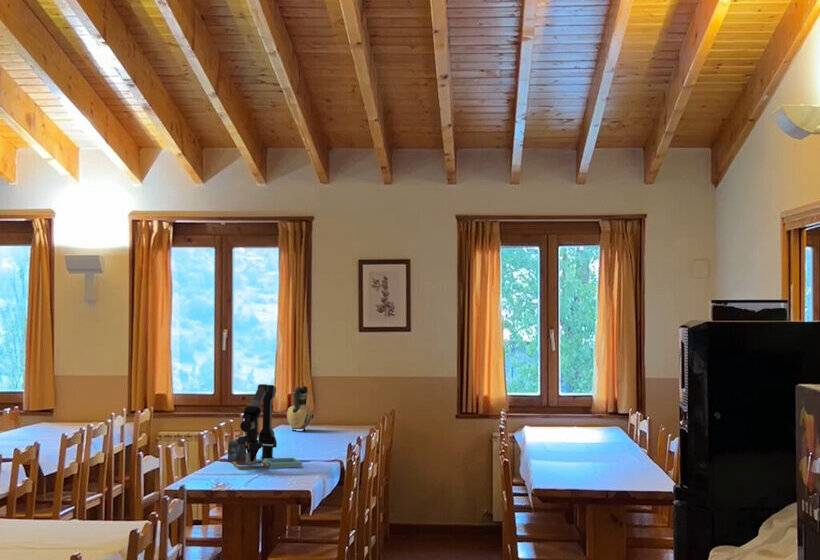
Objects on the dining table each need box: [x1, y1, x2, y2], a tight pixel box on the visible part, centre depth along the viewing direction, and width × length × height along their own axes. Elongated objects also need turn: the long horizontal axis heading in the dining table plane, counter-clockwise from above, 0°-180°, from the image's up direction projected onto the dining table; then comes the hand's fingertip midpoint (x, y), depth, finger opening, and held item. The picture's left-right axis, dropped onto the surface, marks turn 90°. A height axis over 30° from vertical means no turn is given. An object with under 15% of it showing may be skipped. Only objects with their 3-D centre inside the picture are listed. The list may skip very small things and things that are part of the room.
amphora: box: [286, 385, 313, 430], centre depth 590 cm, size 18×17×30 cm
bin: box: [263, 457, 303, 469], centre depth 447 cm, size 16×16×2 cm
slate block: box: [245, 452, 258, 465], centre depth 441 cm, size 4×4×5 cm
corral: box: [231, 460, 270, 470], centre depth 441 cm, size 16×16×2 cm
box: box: [227, 440, 247, 463], centre depth 454 cm, size 8×6×11 cm
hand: (250, 460), depth 441 cm, fingers closed on slate block, 4 cm apart
